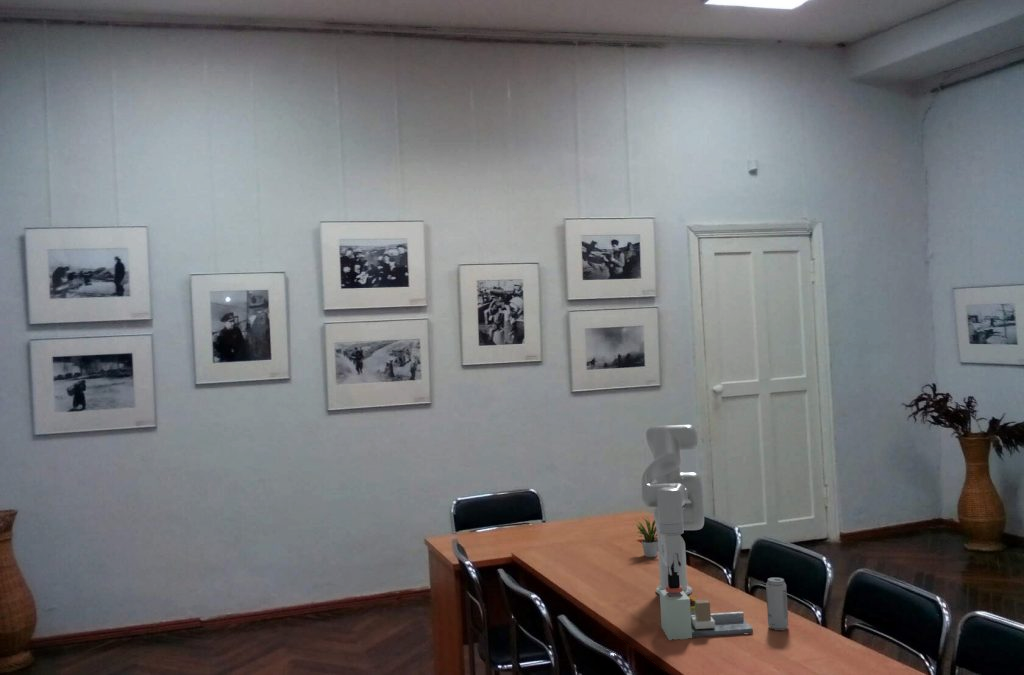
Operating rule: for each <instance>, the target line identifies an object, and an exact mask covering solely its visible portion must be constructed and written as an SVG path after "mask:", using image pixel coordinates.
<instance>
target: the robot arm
mask: <svg viewBox="0 0 1024 675" xmlns="http://www.w3.org/2000/svg"><path fill="white" fill-rule="evenodd" d="M645 437H646V442H647V445H648V447H649V450H650V451H651V453H652V456H653V459H654V460H652V461H651V463H649V464H648V465H647V467H646V468H645V469H644V472H643V474H642V475H641V498H642V502H643V504H644V506H646V507H647V508H654V511H653V518H654V519H653V520H655V526H656V529H657V530H656V534H657V536H656V537H657V540H658V567H659V585H658V586H657V587H656V588H655V591H656V593H657V594H658V595H660V590H666V586H669V588H679V587H680V586H682V587H683V591H684V592H685V594H686V595H687V596H688V595H691V594H692V593H693V588H692V587H691V586H689V585H688V577H687V573H688V572H687V555H686V554H687V553H686V542H685V540H684V538H683V537H682V536H681V535H682V534H684V531H698V530H701V529H703V528H704V525H705V510H704V508H705V507H704V496H703V482H702V479H701V477H700V475H699V474H698V473H697V472H692V471H685V472H684V471H683V472H681V469H680V465H681V454H680V453H681V451H685V450H686V451H687V450H695V449H696V448H697V447H698V439H699V438H698V432H697V430H696V427H695V426H694V424H693V425H692V424H676V425H675V424H673V425H672V424H670V425H669V424H666V425H654V426H653V425H652V426H651V427H649V428H647V430H646V432H645ZM654 481H655V482H654ZM653 482H654V483H653ZM688 500H689V501H690V502H687V501H688Z"/></svg>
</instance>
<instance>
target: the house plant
mask: <svg viewBox="0 0 1024 675" xmlns="http://www.w3.org/2000/svg"><path fill="white" fill-rule="evenodd" d="M642 519H643V520H644V522H645V524H646V528H647V530H646V528H645V526H644V525H643V524H642V523H641V522H639V521H638V520H636V522H637V524H636V526H637V528H638V530H639V531H637V534H641V535H639V537H638V538H640V537H643V539H642V540H641V544H642V549H643V554H644V557H646V558H655V557H658V554H659V552H658V538H656V537H657V529H656V524H655V519H653V521H652V524H651V522H650V519H649V518H647V519H645V518H644V517H642Z"/></svg>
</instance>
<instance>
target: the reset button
mask: <svg viewBox="0 0 1024 675" xmlns="http://www.w3.org/2000/svg"><path fill="white" fill-rule="evenodd" d="M682 591H683V587H682V586H680V587H679V588H669V586H666V592H668V593H669V597H678V596H680V592H682Z"/></svg>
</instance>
